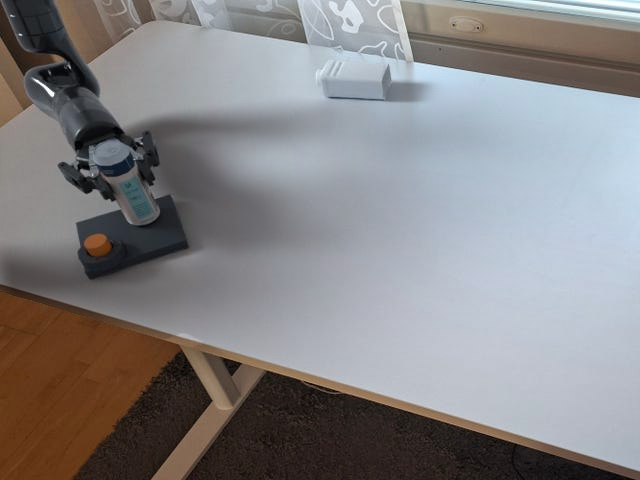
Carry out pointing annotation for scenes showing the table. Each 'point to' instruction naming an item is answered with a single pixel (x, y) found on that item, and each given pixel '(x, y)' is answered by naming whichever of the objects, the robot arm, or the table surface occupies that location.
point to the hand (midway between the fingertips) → (130, 187)
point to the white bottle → (354, 79)
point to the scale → (131, 239)
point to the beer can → (126, 182)
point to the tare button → (98, 245)
